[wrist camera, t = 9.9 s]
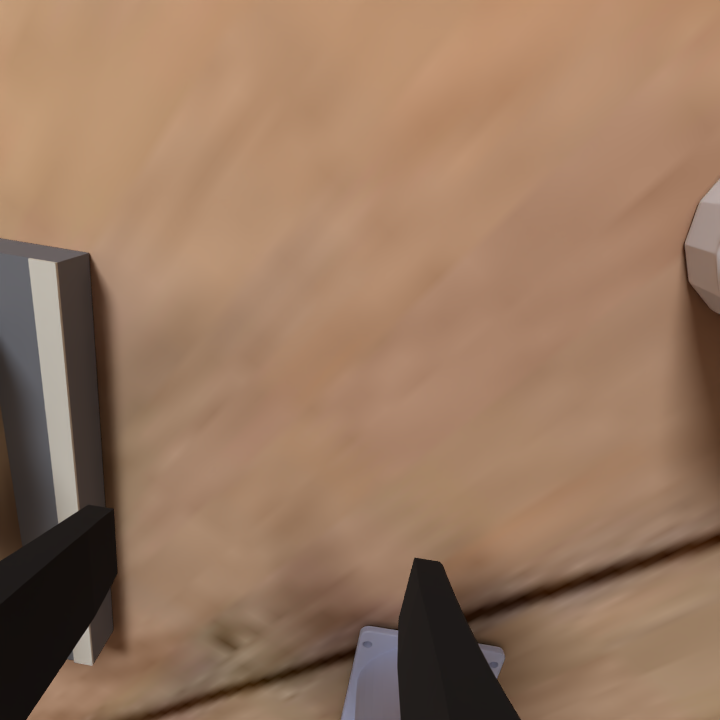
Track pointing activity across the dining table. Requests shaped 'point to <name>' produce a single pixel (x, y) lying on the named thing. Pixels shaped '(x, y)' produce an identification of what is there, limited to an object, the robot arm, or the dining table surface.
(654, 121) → the dining table surface
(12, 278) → the dock
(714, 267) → the white cup
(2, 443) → the brown notched bar
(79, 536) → the robot arm
